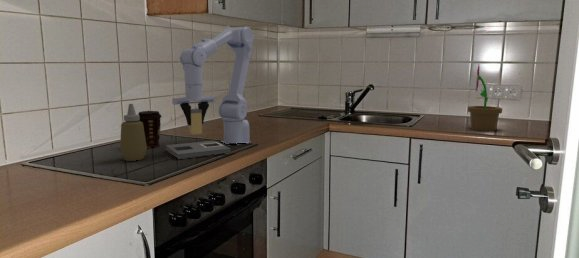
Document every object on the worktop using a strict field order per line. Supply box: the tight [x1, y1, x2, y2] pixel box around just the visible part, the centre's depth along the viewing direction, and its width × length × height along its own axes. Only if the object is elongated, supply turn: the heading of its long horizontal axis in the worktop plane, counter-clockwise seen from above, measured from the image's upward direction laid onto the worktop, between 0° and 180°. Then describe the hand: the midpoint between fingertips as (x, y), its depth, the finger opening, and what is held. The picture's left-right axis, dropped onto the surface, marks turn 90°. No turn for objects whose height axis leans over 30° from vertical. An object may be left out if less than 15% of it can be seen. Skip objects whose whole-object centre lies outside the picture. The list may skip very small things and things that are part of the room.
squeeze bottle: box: [119, 103, 148, 162], centre depth 133 cm, size 8×8×18 cm
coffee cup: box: [137, 110, 163, 149], centre depth 153 cm, size 9×8×13 cm
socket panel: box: [165, 139, 232, 159], centre depth 145 cm, size 18×16×2 cm
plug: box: [188, 108, 203, 135], centre depth 143 cm, size 4×4×8 cm
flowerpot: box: [467, 64, 503, 132], centre depth 191 cm, size 14×14×30 cm
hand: (195, 124), depth 143 cm, fingers closed on plug, 4 cm apart
